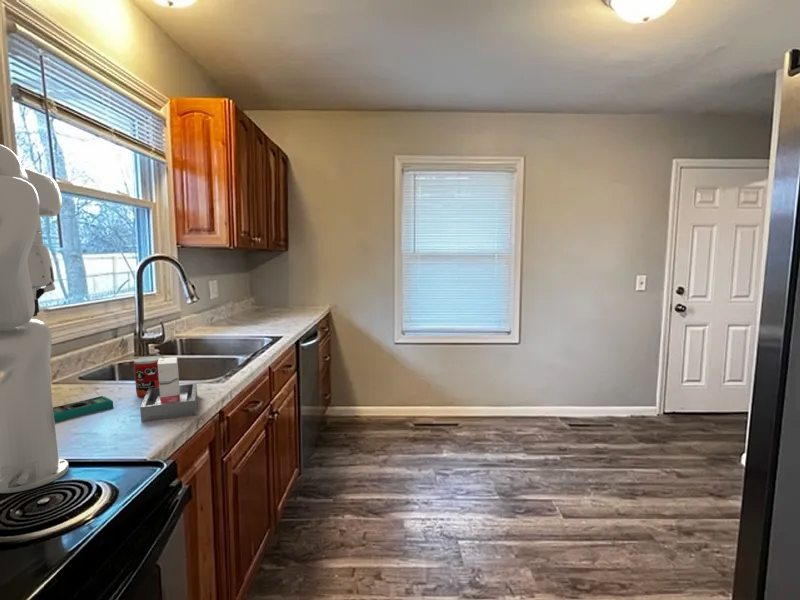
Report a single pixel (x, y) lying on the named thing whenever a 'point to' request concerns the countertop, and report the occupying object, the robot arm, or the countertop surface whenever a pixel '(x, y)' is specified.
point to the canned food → (146, 374)
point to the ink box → (168, 380)
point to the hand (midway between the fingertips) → (31, 316)
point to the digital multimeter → (81, 408)
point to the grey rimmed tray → (169, 404)
